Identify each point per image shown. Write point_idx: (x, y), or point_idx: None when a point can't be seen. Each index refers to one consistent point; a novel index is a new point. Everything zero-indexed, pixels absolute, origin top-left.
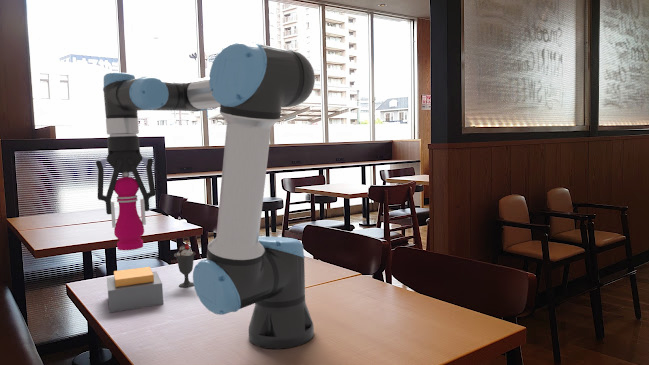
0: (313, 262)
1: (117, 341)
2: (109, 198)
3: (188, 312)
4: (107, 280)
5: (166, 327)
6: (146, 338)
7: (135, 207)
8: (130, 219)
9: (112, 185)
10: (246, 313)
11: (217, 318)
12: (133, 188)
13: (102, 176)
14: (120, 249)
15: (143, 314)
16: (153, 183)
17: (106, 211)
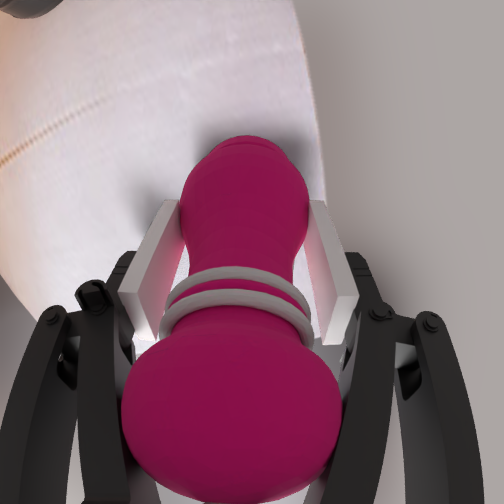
0: (2, 271)
1: (292, 14)
2: (372, 320)
3: (150, 104)
4: (293, 263)
5: (198, 39)
6: (240, 3)
7: (190, 268)
8: (233, 193)
9: (366, 422)
10: (62, 69)
11: (106, 56)
12: (154, 361)
13: (455, 483)
14: (284, 153)
15: (234, 130)
16: (18, 378)
17: (367, 264)
